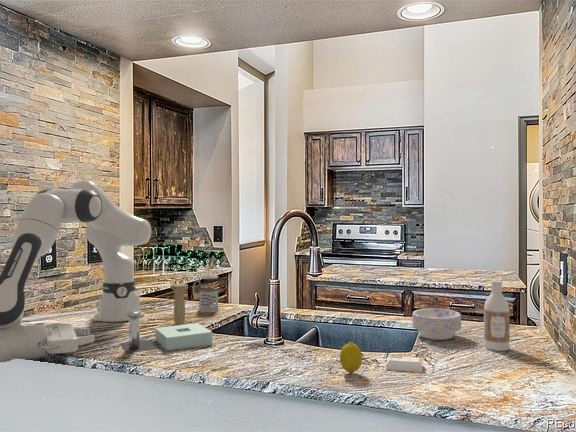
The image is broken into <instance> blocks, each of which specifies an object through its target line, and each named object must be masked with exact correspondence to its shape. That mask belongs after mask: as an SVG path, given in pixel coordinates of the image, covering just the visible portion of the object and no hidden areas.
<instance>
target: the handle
mask: <svg viewBox="0 0 576 432" xmlns="http://www.w3.org/2000/svg"><path fill="white" fill-rule="evenodd" d="M170 289H171V290H173V291H174V302H173V303H174V305H173V320H174V326H177V325H185V321H186V302H185V291H187V290H188V289H189V284H187V283H186V284H185V283H174V284H170Z"/></svg>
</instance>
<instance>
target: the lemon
mask: <svg viewBox="0 0 576 432" xmlns="http://www.w3.org/2000/svg"><path fill="white" fill-rule="evenodd" d="M339 362H340V366H341V367H342V369H344V370H345V371H347V372H348V373H349V374H353V373H354V372H356V371H358V370H359V369H360V368H361V366H362V362H363V355H362V350H361V348H360V347H359V346H358V345H357V344H355V343H354V342H353V341H349V342H348V343H346V344H344V345H343V346H342V347H341V350H340V354H339Z"/></svg>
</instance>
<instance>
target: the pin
mask: <svg viewBox="0 0 576 432" xmlns="http://www.w3.org/2000/svg"><path fill="white" fill-rule="evenodd" d="M141 312H142V311H141V310H140V311H130V312H127V316H129V320H128V342H129V349H130V350H136V349H139V348H140V341H141V340H140V317H139V316H140V315H141Z"/></svg>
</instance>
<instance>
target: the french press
mask: <svg viewBox="0 0 576 432" xmlns="http://www.w3.org/2000/svg"><path fill="white" fill-rule="evenodd" d="M205 253H206V254H207V256H208V259H207V261H208V268H207V269H208V270H207V271H208V272H206V273H203V274H202V275H200V276H198V279H199V280H196V281H195V282H194V283H193V285H192V294H193V295H194V296H195V297H196V298H197V299H198V308H197V311H198V312H201V313H213V312H214V313H215V312H218V311H221V308H220V306H219V289H217V288H218V285H213V284H205V285H200V284H201V280H202V279H203V280H216V279H219V276H218V275H217V274H215V273H212V272H210V254H211V253H212V252H211V250H210V249H208V250H206V251H205ZM197 282H198V284H199V285H200V289H199V296H198V295H197V294H196V292H195V285H196V283H197Z"/></svg>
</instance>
